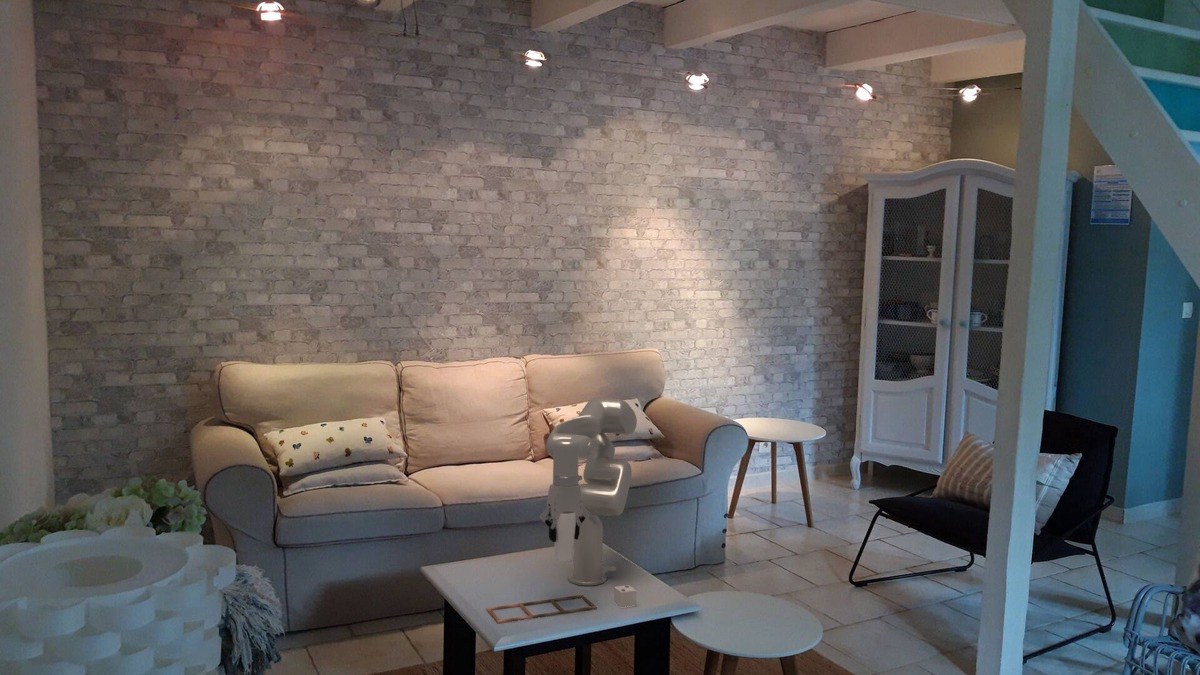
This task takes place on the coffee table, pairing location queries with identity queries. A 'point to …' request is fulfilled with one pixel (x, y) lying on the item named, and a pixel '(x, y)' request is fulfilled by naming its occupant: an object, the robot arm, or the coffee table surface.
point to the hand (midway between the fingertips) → (564, 539)
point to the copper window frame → (553, 601)
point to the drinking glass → (565, 537)
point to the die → (624, 596)
